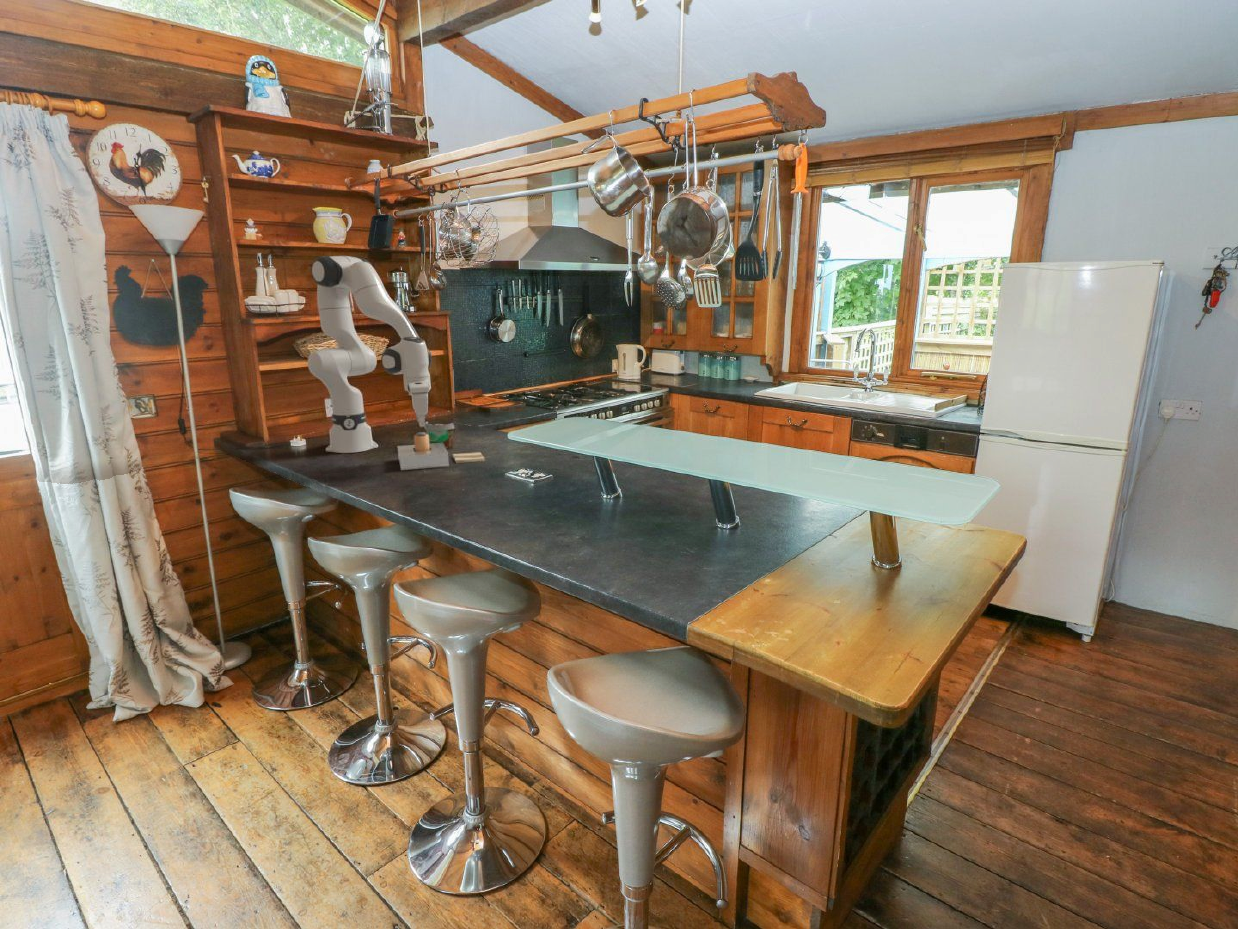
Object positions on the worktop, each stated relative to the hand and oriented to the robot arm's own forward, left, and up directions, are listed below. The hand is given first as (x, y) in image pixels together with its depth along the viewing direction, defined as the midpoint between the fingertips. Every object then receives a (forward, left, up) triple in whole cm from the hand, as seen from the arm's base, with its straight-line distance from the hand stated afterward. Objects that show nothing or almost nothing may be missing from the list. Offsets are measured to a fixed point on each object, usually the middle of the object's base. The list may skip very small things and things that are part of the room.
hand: (421, 424), depth 234 cm
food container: (-20, +7, -14) cm, 26 cm away
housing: (0, 0, -14) cm, 14 cm away
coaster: (0, +16, -14) cm, 21 cm away
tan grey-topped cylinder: (0, 0, -14) cm, 14 cm away
